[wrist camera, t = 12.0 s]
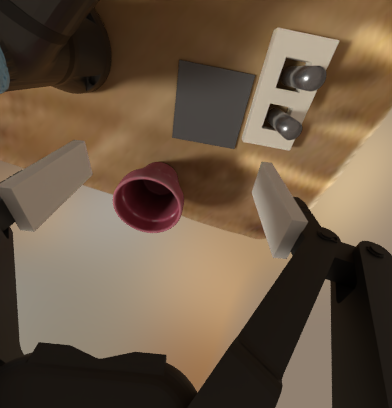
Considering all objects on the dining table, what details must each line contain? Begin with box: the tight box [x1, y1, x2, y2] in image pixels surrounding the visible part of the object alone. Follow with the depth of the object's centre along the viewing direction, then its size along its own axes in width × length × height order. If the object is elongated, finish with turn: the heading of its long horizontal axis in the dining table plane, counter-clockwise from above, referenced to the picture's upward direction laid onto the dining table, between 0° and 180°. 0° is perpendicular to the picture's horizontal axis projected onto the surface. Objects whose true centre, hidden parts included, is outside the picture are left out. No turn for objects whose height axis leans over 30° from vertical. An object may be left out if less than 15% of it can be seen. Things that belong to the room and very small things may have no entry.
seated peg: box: [266, 108, 302, 140], centre depth 35 cm, size 3×3×11 cm
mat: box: [172, 60, 255, 149], centre depth 40 cm, size 14×14×1 cm
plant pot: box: [113, 162, 184, 233], centre depth 45 cm, size 14×14×13 cm
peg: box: [280, 66, 326, 92], centre depth 31 cm, size 3×3×11 cm
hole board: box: [242, 28, 339, 151], centre depth 37 cm, size 10×18×2 cm, turn 171°
